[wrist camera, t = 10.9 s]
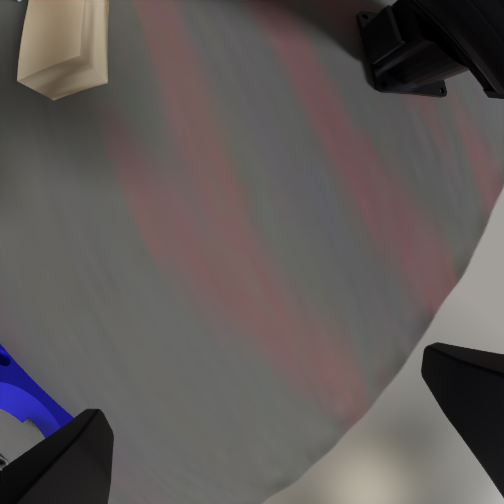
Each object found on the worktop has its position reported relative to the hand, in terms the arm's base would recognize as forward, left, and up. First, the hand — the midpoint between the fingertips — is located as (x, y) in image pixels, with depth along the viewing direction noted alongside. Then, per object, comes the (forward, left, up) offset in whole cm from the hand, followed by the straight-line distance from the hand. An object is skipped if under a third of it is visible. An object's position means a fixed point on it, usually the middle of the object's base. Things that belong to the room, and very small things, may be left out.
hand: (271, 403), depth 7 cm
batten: (+8, -26, -12) cm, 30 cm away
